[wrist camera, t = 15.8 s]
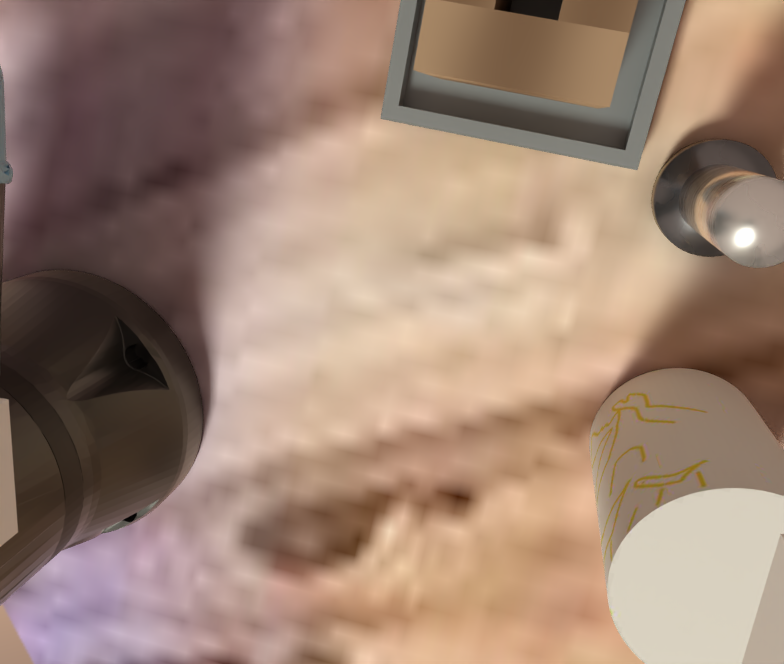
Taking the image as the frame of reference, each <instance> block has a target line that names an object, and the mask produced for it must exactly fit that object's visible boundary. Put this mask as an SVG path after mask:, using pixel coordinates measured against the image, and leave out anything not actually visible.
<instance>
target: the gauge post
mask: <svg viewBox="0 0 784 664" xmlns="http://www.w3.org/2000/svg"><path fill="white" fill-rule="evenodd" d="M651 204H652V212H653V216H654V219H655V222H656V224H657V225H658V227H659V229H660V230H661V232H662V233H663V234H664V235H665V236H666V237H667V238H668V239H669V241H670V242H672V243H673V244H674V245H675V246H677V247H678V248H680V249H682V250H683V251H686V252H688V253H691V254H694V255H699V256H707V257H714V256H722V255H726V256H727V257H729V258H730V259H731V260H733V261H734V262H736V263H738V264H741V265H743V266H747V267H753V268H764V267H770V266H774V265H777V264H780V263H782V262H784V181H783V180H779V179H776V176H775V173H774V171H773V169H772V167H771V165H770V164H769V162H768V161H767V160H766V159H765V157H764V156H763V155H762V154H760V153H759V152H758V151H757V150H755V149H754V148H752V147H750V146H748V145H746V144H743V143H740V142H736V141H731V140H724V139H711V140H704V141H700V142H696V143H694V144H691V145H689V146H687V147H685V148H683V149H682V150H680V151H679V152H677V153H676V154H675V155H674V156H672V157H671V158H670V159H669V160H668V161H667V163H666V164H665V165H664V166H663V168H662V169H661V171H660V172H659V174H658V176H657V178H656V180H655V183H654V186H653V190H652V198H651Z"/></svg>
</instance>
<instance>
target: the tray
mask: <svg viewBox="0 0 784 664" xmlns="http://www.w3.org/2000/svg"><path fill="white" fill-rule="evenodd" d="M562 1H563V0H512V4H511V9H510V12H512V13H517V14H523V15H529V16H535V17H540V18H546V19H552V20H558V18H559V14H560V10H561V6H562ZM685 1H686V0H638V3H637V7H636V10H635V14H634V18H633V22H632V25H631V29H630V33H629V37H628V40H627V44H626V48H625V52H624V56H623V59H622V63H621V67H620V71H619V74H618V78H617V82H616V86H615V89H614V93H613V97H612V101H611V104H610V107H606V108H598V109H597V108H591V107H586V106H581V105H576V104H570V103H565V102H560V101H554V100H549V99H544V98H539V97H533V96H528V95H523V94H518V93H512V92H507V91H502V90H496V89H491V88H486V87H481V86H475V85H470V84H465V83H459V82H454V81H449V80H444V79H439V78H436V77H433V76H430V75H427V74H424V73H421V72H418V71H415V70H413V68H414V63H415V57H416V51H417V46H418V40H419V35H420V29H421V24H422V18H423V13H424V7H425V2H426V0H401V2H400V8H399V14H398V20H397V25H396V31H395V37H394V43H393V49H392V55H391V61H390V66H389V72H388V78H387V84H386V90H385V96H384V102H383V107H382V113H381V119H384V120H389V121H394V122H399V123H404V124H409V125H414V126H419V127H424V128H429V129H434V130H439V131H444V132H449V133H454V134H459V135H464V136H469V137H474V138H479V139H484V140H489V141H494V142H499V143H504V144H509V145H514V146H519V147H524V148H529V149H534V150H539V151H544V152H549V153H554V154H559V155H564V156H569V157H574V158H579V159H584V160H589V161H594V162H599V163H604V164H609V165H614V166H619V167H624V168H629V169H634V170H637V169H638V166H639V162H640V159H641V155H642V152H643V148H644V145H645V141H646V138H647V134H648V131H649V127H650V124H651V120H652V117H653V113H654V110H655V106H656V103H657V99H658V96H659V92H660V89H661V85H662V82H663V78H664V75H665V71H666V68H667V64H668V61H669V57H670V54H671V50H672V47H673V43H674V40H675V36H676V33H677V29H678V26H679V22H680V19H681V15H682V12H683V8H684V5H685Z"/></svg>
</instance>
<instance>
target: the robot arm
mask: <svg viewBox="0 0 784 664" xmlns="http://www.w3.org/2000/svg"><path fill="white" fill-rule="evenodd" d="M12 177H13V170H12V167H11V166H10V164H9V163H8V162H7V161H6V133H5V102H4V80H3V74H2V69H1V66H0V605H1V604H3V603H4V602H5V601H6V600H7V599H8V598H9V597H10V596H11V595H13V594H14V593H15V592H16V591H17V590H18V589H19V588H20V587H21V586H23V585H24V584H25V583H26V582H27V581H28V580H29V579H30V578H31V577H33V576H34V575H35V574H36V573H37V572H38V571H39V570H40V569H41V568H42V567H43V566H44V565H46V564H47V563H48V562H49V561H50V560H51V559H52V558H54V557H55V556H56V555H57V554H58V553H59V552H60V551H62V550H65V549H67V548H70V547H73V546H75V545H78V544H81V543H83V542H86V541H88V540H90V539H93V538H95V537H97V536H98V535H100V534H102V533H107V532H111V531H114V530H117V529H120V528H123V527H125V526H128V525H130V524H132V523H134V522H136V521H138V520H140V519H141V518H143V517H144V516H146V515H147V514H149V513H150V512H152V511H153V510H154V509H155V508H156V507H157V506H159V505H160V504H161V503H162V502H163V501H164V500H165V499H166V498H167V497H168V496H169V495H170V494H171V493H172V492H173V491H174V490H175V489H176V488H177V487H178V486H179V485H180V483H181V482H182V481H183V480H184V478H185V477H186V475H187V474H188V472H189V471H190V469H191V467H192V465H193V463H194V460H195V458H196V455H197V452H198V449H199V446H200V441H201V435H202V426H203V410H202V401H201V394H200V390H199V385H198V382H197V379H196V375H195V372H194V370H193V367H192V365H191V363H190V360H189V358H188V356H187V354H186V352H185V350H184V349H183V347H182V345H181V344H180V342H179V340H178V339H177V337H176V336H175V334H174V333H173V332H172V330H171V329H170V328H169V327H168V325H167V324H166V323H165V322H164V321H163V319H162V318H161V317H160V316H159V315H158V314H157V313H156V312H155V311H154V310H153V309H152V308H151V307H149V306H148V305H147V304H146V303H145V302H143V301H142V300H141V299H140V298H138V297H137V296H135V295H134V294H133V293H131V292H129V291H128V290H126V289H125V288H123V287H121V286H119V285H117V284H115V283H113V282H111V281H109V280H107V279H104V278H101V277H99V276H96V275H92V274H88V273H84V272H79V271H72V270H47V271H40V272H36V273H32V274H28V275H25V276H22V277H19V278H16V279H12V280H9V281H6V282H3V283H2V268H3V239H4V210H5V183H8V184H9V183H10V182H12ZM742 664H784V534H780V537H779V541H778V544H777V547H776V551H775V554H774V557H773V561H772V564H771V567H770V571H769V574H768V577H767V581H766V584H765V587H764V591H763V594H762V597H761V601H760V604H759V607H758V611H757V614H756V617H755V621H754V624H753V627H752V631H751V634H750V637H749V641H748V644H747V647H746V651H745V654H744V657H743V661H742Z"/></svg>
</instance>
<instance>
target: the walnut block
mask: <svg viewBox="0 0 784 664" xmlns="http://www.w3.org/2000/svg"><path fill="white" fill-rule="evenodd" d="M637 3H638V0H563V1H562V6H561V10H560V14H559V18H558V20H552V19H546V18H540V17H535V16H529V15H523V14H517V13H512V12H510V9H511V4H512V0H426V2H425V7H424V13H423V18H422V24H421V29H420V35H419V40H418V46H417V51H416V57H415V63H414V68H413V70H415V71H418V72H421V73H424V74H427V75H430V76H433V77H436V78H439V79H444V80H449V81H454V82H459V83H465V84H470V85H475V86H481V87H486V88H491V89H496V90H502V91H507V92H512V93H518V94H523V95H528V96H533V97H539V98H544V99H549V100H554V101H560V102H565V103H570V104H576V105H581V106H586V107H591V108H597V109H598V108H606V107H610V104H611V101H612V97H613V93H614V89H615V86H616V82H617V78H618V74H619V71H620V67H621V63H622V59H623V56H624V52H625V48H626V44H627V40H628V37H629V33H630V29H631V25H632V22H633V18H634V14H635V10H636V7H637Z"/></svg>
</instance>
